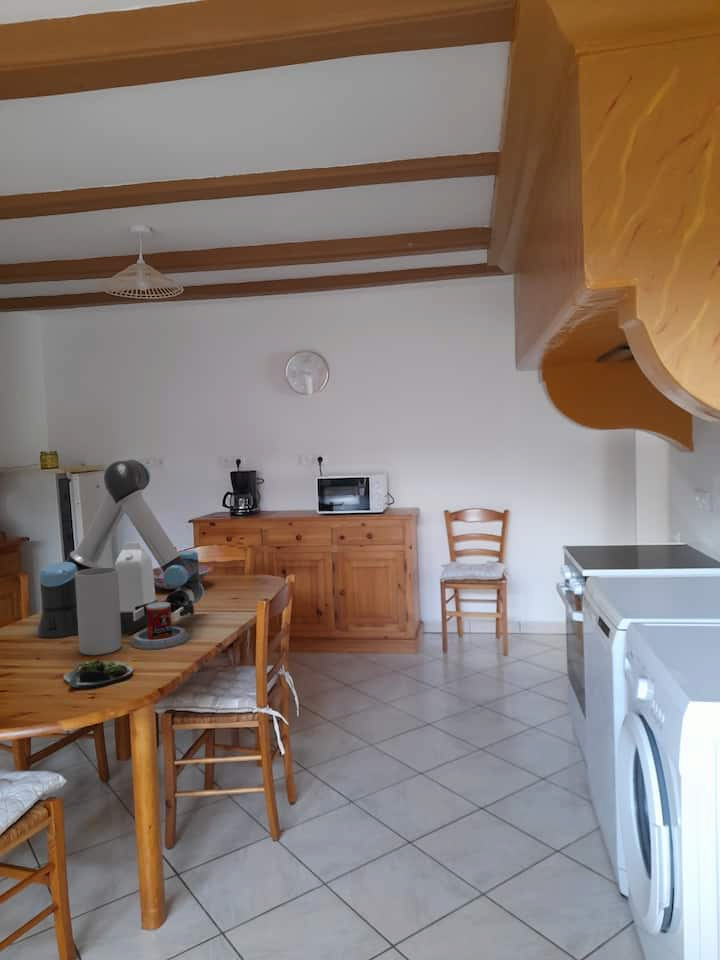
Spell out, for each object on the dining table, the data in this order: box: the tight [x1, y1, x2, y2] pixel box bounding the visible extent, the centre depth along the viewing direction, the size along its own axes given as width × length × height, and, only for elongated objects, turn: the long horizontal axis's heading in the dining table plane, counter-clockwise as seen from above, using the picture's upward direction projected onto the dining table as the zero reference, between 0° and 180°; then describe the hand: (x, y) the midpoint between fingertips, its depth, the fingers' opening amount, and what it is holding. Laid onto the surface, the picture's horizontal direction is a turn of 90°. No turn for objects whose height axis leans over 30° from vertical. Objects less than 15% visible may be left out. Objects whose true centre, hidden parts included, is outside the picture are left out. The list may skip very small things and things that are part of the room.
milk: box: [114, 541, 157, 612], centre depth 263 cm, size 12×12×26 cm
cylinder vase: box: [75, 567, 123, 656], centre depth 210 cm, size 12×12×25 cm
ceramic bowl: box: [153, 564, 212, 590], centre depth 298 cm, size 29×29×8 cm
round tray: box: [130, 626, 189, 651], centre depth 218 cm, size 18×18×2 cm
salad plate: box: [63, 659, 134, 690], centre depth 186 cm, size 19×18×5 cm
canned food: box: [145, 601, 173, 640], centre depth 217 cm, size 8×8×11 cm
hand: (154, 616), depth 214 cm, fingers open, 13 cm apart
